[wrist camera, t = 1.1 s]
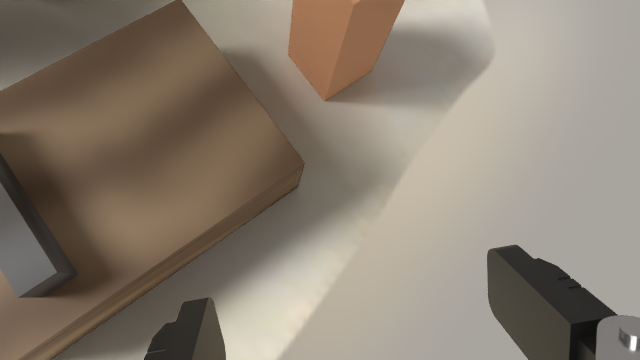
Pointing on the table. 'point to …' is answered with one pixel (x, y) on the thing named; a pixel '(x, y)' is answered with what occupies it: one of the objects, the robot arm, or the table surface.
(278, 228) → the table surface
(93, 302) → the lid
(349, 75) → the orange rectangular block
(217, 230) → the wooden box
